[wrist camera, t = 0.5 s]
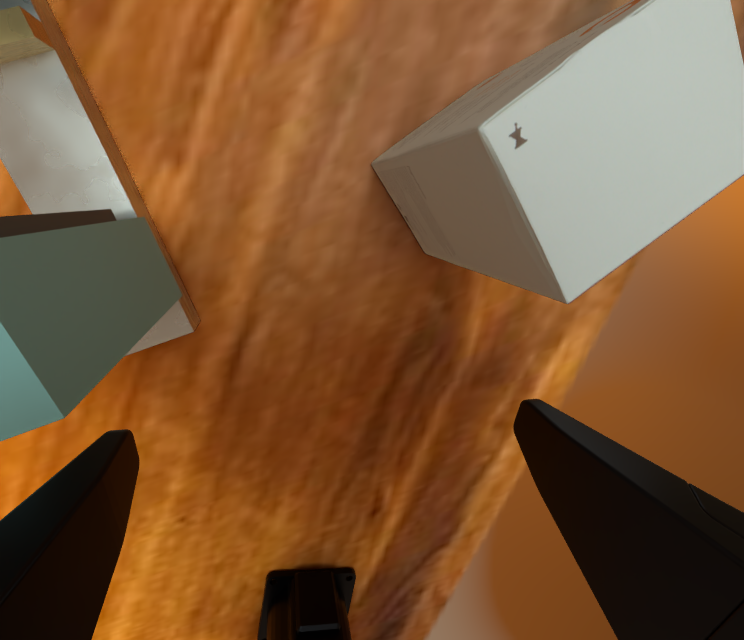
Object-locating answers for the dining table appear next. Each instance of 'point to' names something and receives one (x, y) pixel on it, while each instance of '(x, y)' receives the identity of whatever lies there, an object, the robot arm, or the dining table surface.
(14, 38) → the rail
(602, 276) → the small box
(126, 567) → the dining table surface
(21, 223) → the tall teal pillar
